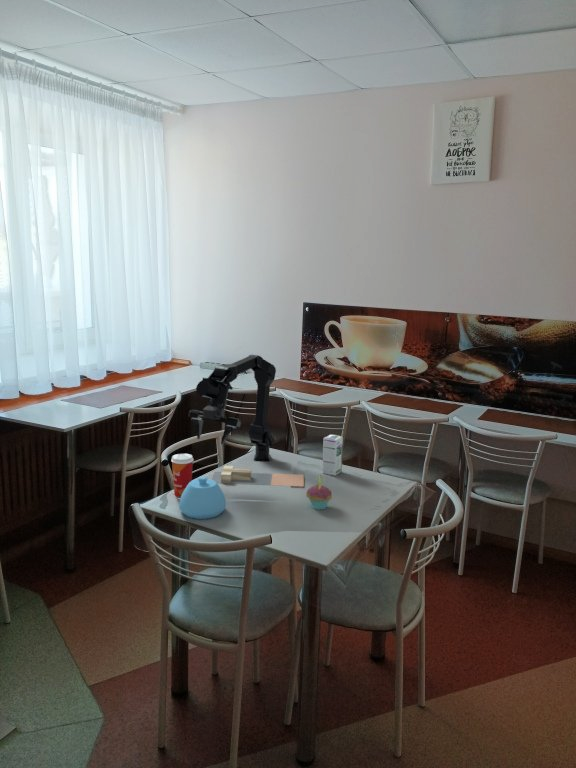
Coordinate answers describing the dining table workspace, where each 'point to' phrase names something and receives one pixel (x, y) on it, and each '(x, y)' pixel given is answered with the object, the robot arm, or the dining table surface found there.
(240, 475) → the t block
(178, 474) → the paper cup
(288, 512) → the dining table surface
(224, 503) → the blue dome lid
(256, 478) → the push board
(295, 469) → the dining table surface
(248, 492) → the dining table surface
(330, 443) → the syrup box
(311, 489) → the cupcake
